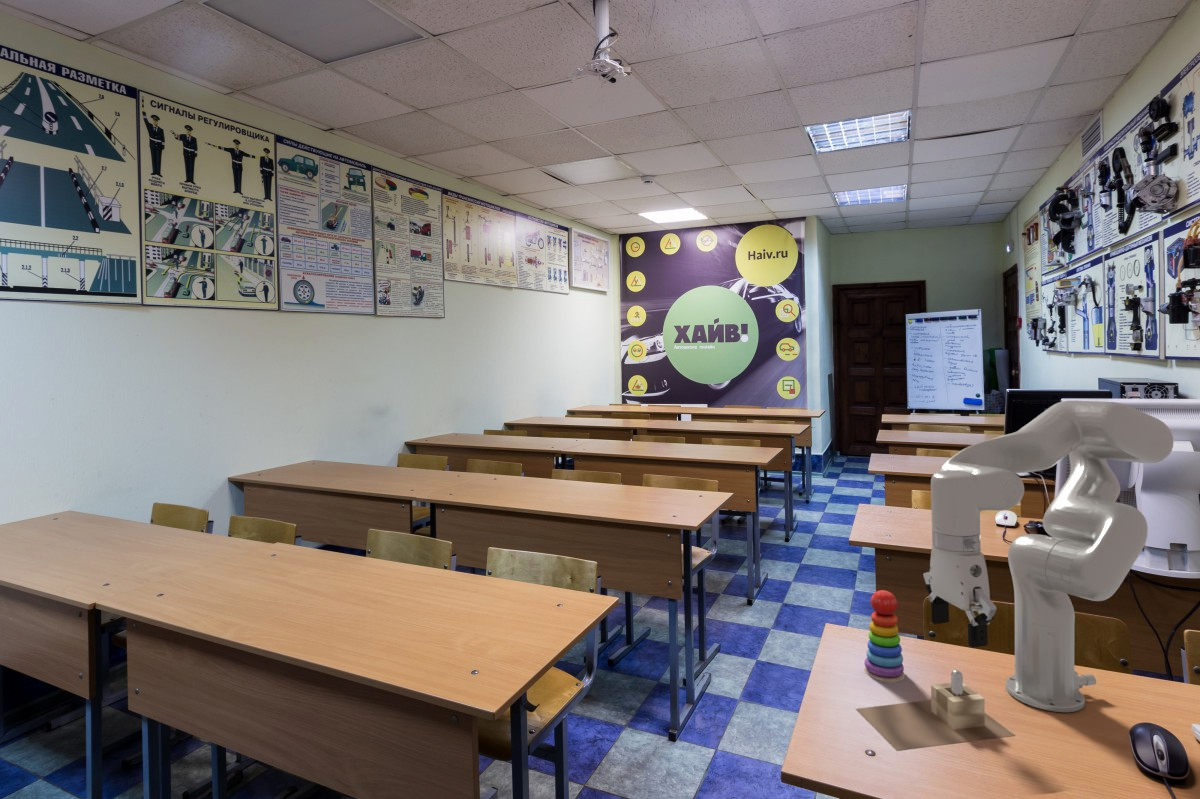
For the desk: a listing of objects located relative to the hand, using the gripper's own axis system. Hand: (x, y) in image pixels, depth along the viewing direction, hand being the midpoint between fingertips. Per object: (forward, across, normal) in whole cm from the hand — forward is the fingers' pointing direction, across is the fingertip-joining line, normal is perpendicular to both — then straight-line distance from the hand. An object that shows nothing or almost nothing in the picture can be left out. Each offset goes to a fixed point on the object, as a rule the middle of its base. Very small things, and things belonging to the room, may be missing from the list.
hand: (958, 633), depth 113 cm
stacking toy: (+17, +18, +4) cm, 25 cm away
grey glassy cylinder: (+16, 0, +1) cm, 16 cm away
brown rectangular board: (+17, 0, +6) cm, 18 cm away
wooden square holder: (+16, 0, +1) cm, 16 cm away
